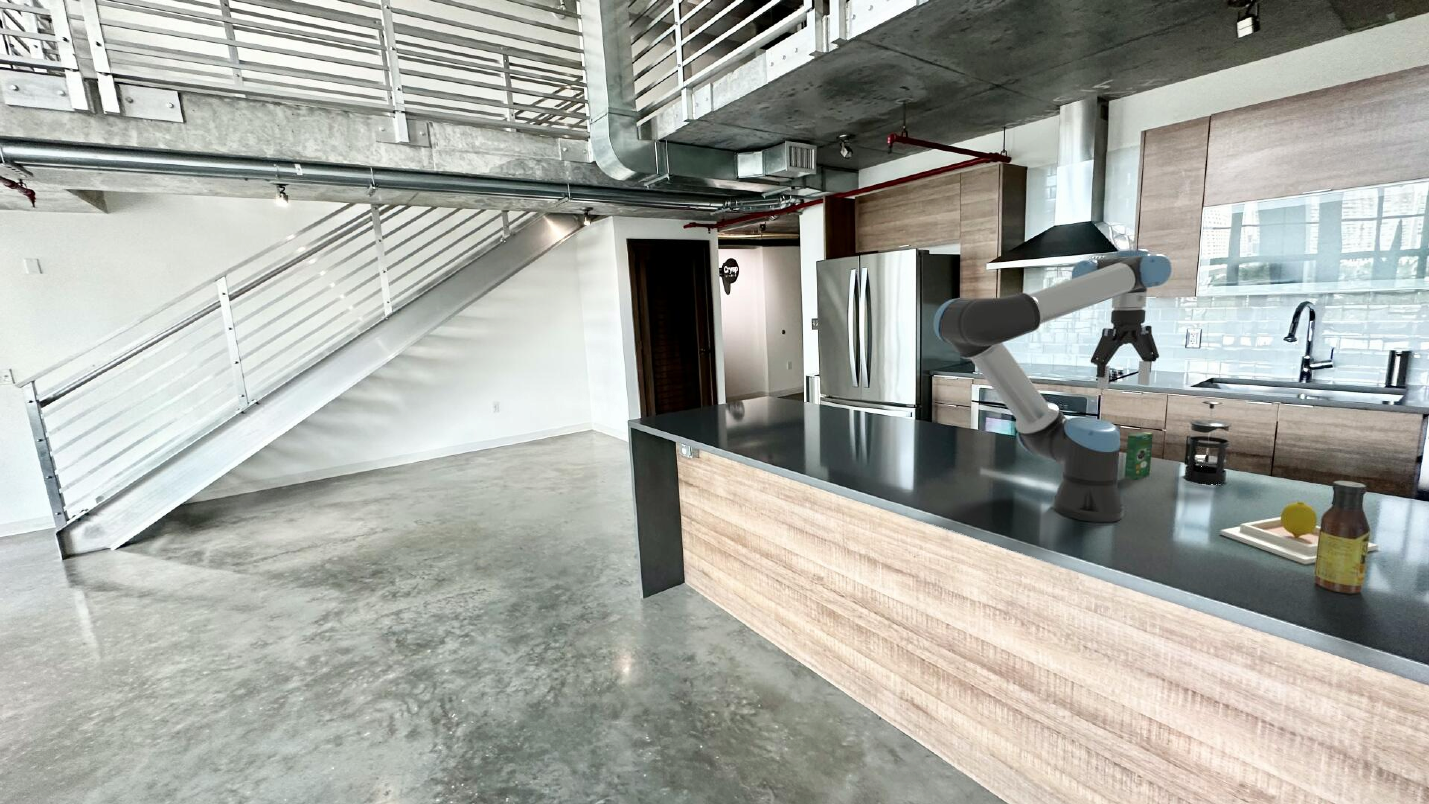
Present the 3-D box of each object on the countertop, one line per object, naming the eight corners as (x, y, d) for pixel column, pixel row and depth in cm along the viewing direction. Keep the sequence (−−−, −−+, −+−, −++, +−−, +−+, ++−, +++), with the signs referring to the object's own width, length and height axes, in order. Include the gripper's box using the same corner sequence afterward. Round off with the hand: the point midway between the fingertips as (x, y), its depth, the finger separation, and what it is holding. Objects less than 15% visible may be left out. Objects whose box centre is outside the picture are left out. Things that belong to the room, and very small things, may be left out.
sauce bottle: (1368, 598, 104) (1384, 492, 100) (1318, 591, 107) (1333, 487, 103) (1353, 582, 109) (1369, 481, 105) (1307, 575, 112) (1320, 477, 109)
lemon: (1308, 544, 123) (1313, 508, 121) (1273, 535, 127) (1278, 500, 126) (1319, 538, 125) (1324, 502, 124) (1285, 529, 130) (1289, 495, 129)
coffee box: (1140, 472, 176) (1143, 430, 173) (1150, 475, 173) (1154, 432, 171) (1123, 477, 173) (1126, 434, 170) (1133, 480, 170) (1136, 436, 168)
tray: (1304, 564, 117) (1306, 552, 116) (1220, 534, 132) (1221, 523, 132) (1377, 549, 121) (1379, 538, 121) (1287, 522, 136) (1288, 512, 136)
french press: (1237, 485, 161) (1246, 403, 157) (1204, 487, 161) (1212, 405, 157) (1201, 472, 173) (1208, 396, 169) (1170, 474, 173) (1177, 398, 169)
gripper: (1102, 311, 150) (1097, 392, 154) (1179, 306, 156) (1172, 384, 159) (1078, 311, 157) (1073, 388, 161) (1152, 306, 163) (1146, 381, 166)
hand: (1123, 387), depth 160 cm, fingers open, 13 cm apart
